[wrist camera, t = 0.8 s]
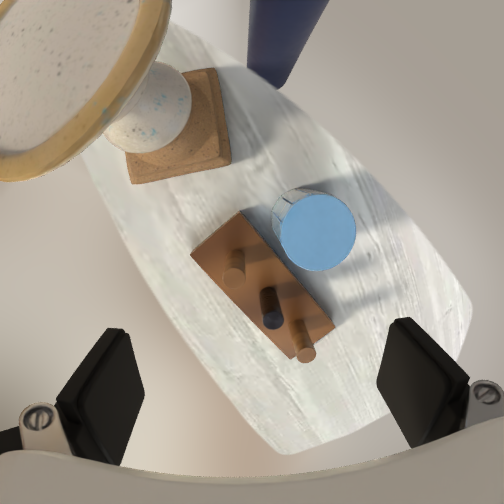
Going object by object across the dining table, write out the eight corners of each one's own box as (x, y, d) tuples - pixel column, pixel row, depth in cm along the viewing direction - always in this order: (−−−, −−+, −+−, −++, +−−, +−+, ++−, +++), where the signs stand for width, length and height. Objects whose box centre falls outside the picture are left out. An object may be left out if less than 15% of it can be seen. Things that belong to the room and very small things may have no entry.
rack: (191, 251, 32) (177, 274, 25) (239, 210, 31) (238, 222, 24) (288, 353, 36) (298, 390, 29) (332, 321, 35) (351, 354, 28)
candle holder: (123, 95, 27) (-31, 17, 4) (217, 71, 27) (175, -94, 4) (136, 185, 30) (-42, 226, 7) (232, 165, 30) (203, 138, 7)
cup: (291, 177, 30) (307, 178, 23) (340, 208, 31) (369, 220, 24) (260, 229, 32) (266, 247, 24) (309, 258, 33) (329, 283, 25)
